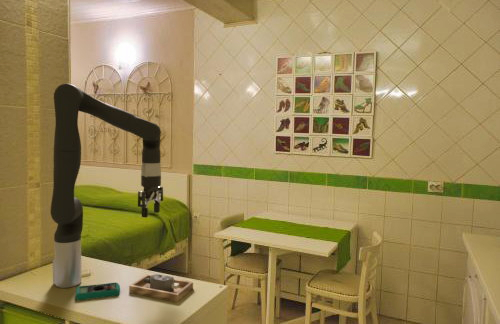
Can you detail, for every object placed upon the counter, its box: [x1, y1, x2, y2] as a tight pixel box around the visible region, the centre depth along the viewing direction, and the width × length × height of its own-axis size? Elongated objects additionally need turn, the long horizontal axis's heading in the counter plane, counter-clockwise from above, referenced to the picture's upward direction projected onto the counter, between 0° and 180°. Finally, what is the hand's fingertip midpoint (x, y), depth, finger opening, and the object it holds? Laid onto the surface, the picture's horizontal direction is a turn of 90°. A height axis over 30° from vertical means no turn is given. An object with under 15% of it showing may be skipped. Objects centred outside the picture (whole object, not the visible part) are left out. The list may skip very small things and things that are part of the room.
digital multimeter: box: [75, 282, 121, 301], centre depth 143 cm, size 7×15×3 cm, turn 110°
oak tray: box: [128, 273, 194, 303], centre depth 147 cm, size 20×12×3 cm, turn 71°
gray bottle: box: [144, 273, 179, 292], centre depth 147 cm, size 14×4×4 cm, turn 71°
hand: (150, 214), depth 155 cm, fingers open, 8 cm apart
